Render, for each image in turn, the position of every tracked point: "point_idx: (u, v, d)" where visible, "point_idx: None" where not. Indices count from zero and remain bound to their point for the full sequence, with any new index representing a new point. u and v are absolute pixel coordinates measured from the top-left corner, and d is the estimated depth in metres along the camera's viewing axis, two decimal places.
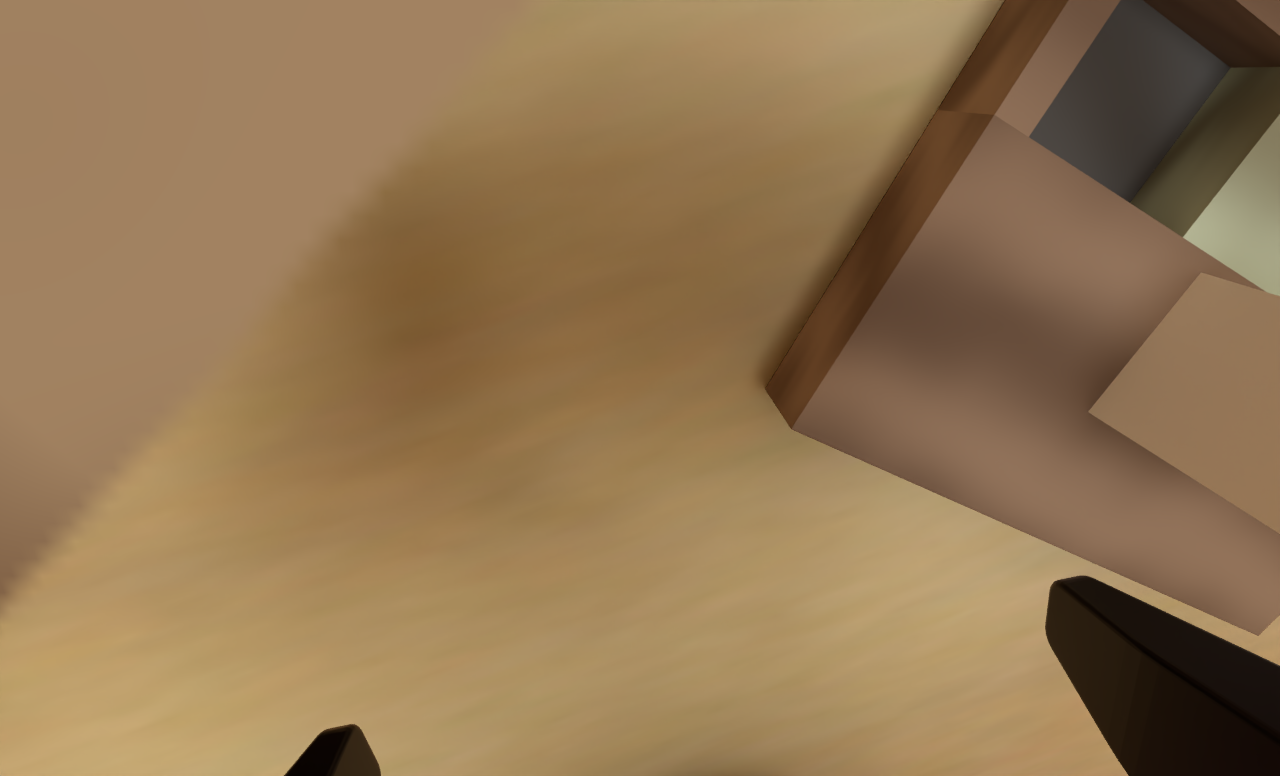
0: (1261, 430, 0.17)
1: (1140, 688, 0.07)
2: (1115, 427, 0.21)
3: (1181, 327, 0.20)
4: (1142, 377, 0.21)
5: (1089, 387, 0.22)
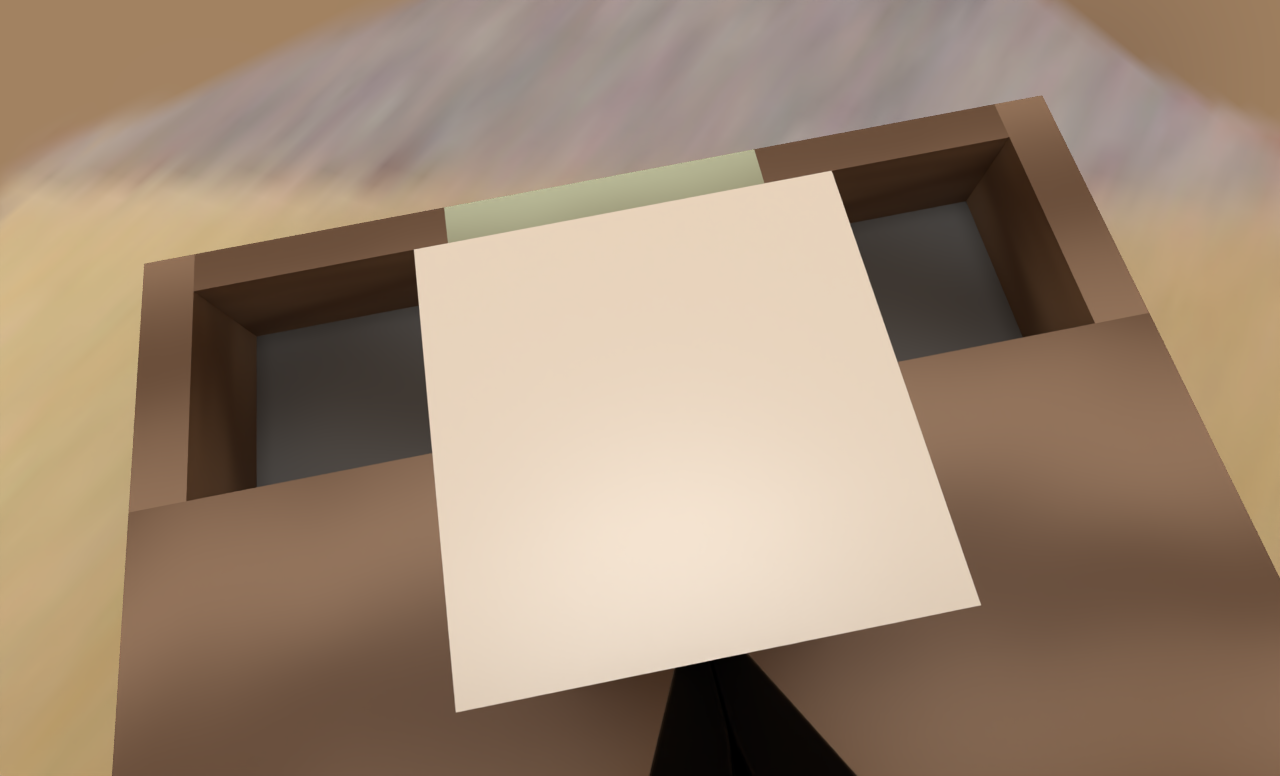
0: None
1: (739, 772, 0.07)
2: None
3: None
4: None
5: None
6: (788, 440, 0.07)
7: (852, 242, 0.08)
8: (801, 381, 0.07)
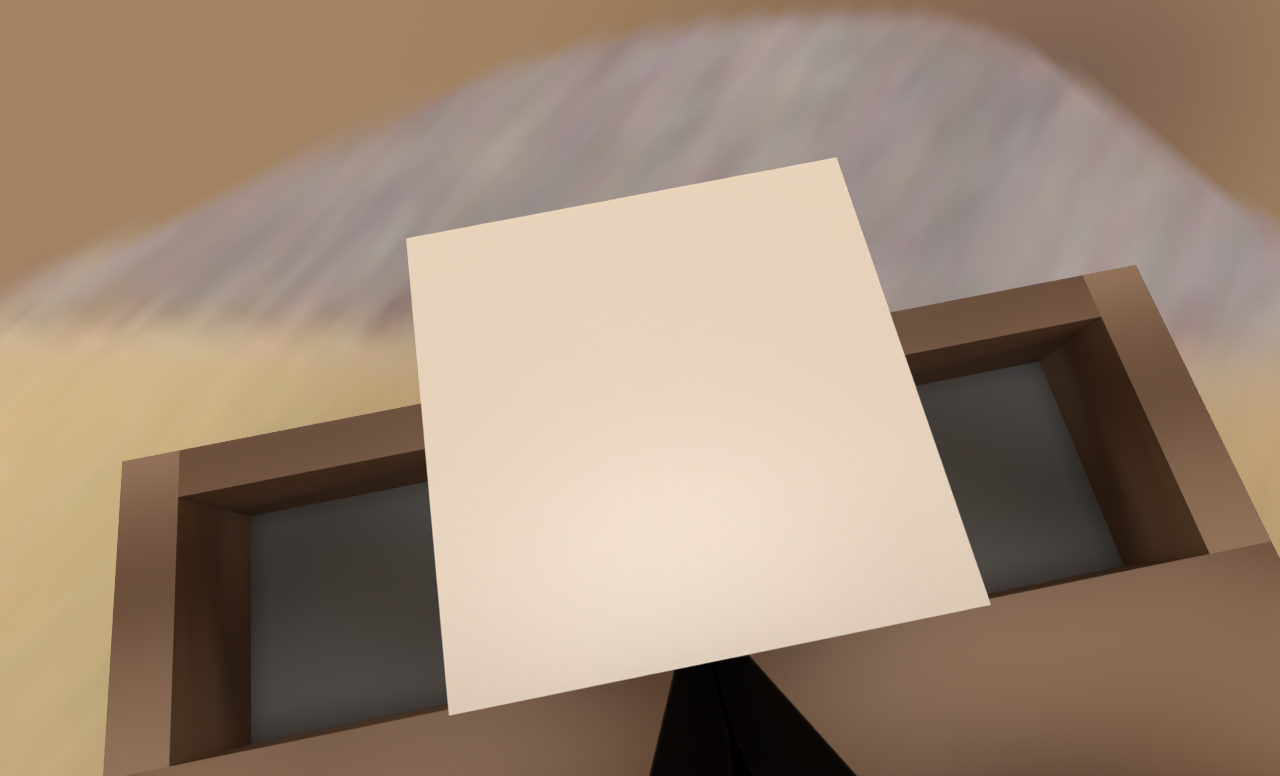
0: None
1: (739, 772, 0.07)
2: None
3: None
4: None
5: None
6: (792, 435, 0.07)
7: (858, 231, 0.08)
8: (805, 373, 0.07)
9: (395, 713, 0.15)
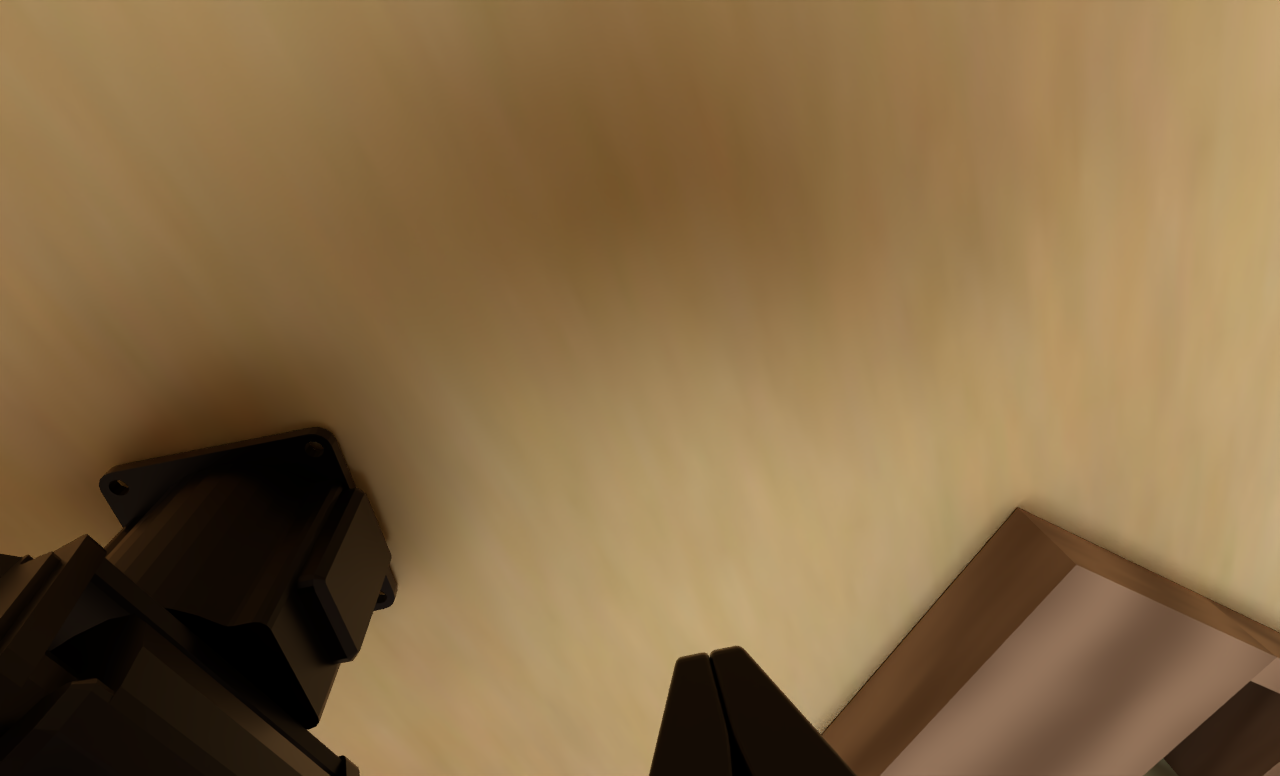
0: None
1: (739, 772, 0.07)
2: None
3: None
4: None
5: (1026, 770, 0.25)
6: None
7: None
8: None
9: None
